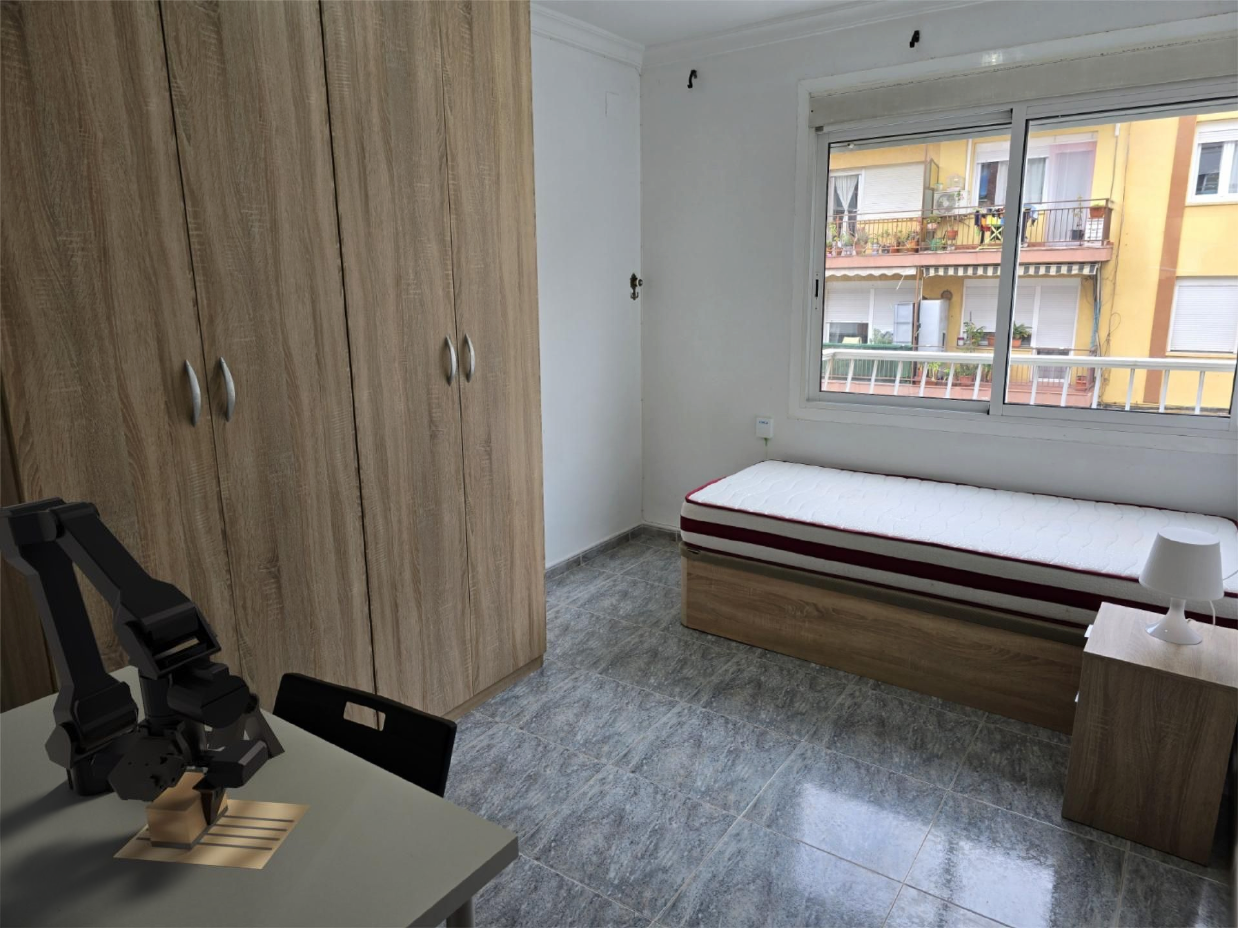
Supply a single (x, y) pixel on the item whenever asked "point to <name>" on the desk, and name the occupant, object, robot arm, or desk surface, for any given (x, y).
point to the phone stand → (248, 729)
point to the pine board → (228, 837)
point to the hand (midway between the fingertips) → (190, 821)
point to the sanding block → (180, 815)
